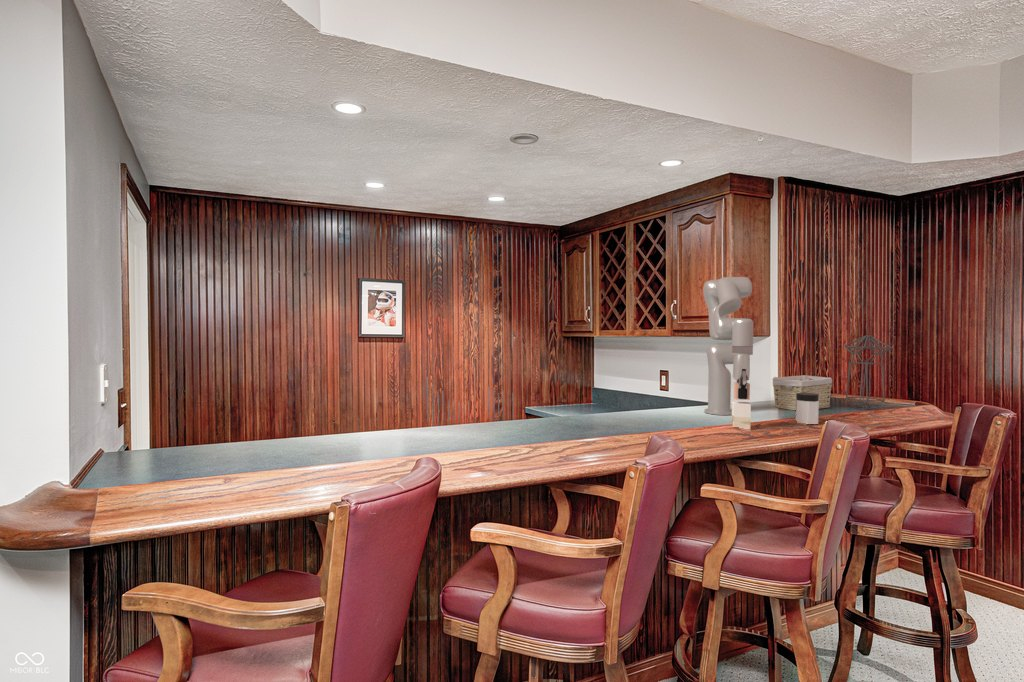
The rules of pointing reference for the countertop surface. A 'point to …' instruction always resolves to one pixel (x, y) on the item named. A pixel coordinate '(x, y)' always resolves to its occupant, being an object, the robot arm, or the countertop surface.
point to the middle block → (741, 409)
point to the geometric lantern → (866, 368)
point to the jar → (807, 408)
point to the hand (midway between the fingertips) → (741, 397)
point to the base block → (741, 422)
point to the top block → (736, 386)
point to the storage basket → (801, 390)
